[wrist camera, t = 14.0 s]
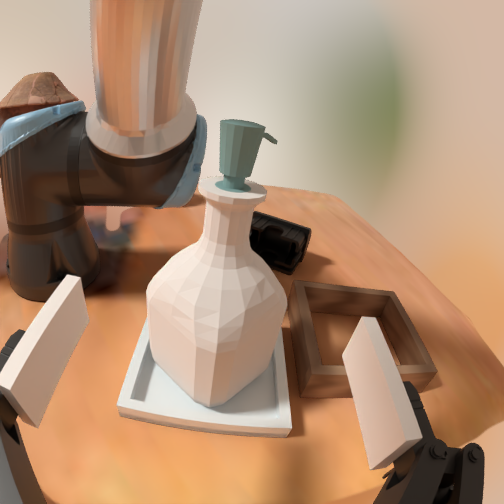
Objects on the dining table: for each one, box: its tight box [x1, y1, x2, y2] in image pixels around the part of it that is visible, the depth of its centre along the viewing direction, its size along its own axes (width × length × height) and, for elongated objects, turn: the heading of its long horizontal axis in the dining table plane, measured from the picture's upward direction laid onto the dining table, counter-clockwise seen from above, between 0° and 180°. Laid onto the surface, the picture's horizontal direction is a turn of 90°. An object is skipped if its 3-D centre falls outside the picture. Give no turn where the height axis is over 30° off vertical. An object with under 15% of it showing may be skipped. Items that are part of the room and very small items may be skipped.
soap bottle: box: [146, 119, 288, 407], centre depth 24 cm, size 10×10×23 cm
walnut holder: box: [287, 280, 438, 398], centre depth 34 cm, size 15×15×4 cm
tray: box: [117, 316, 292, 438], centre depth 29 cm, size 15×15×2 cm
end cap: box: [249, 211, 311, 275], centre depth 50 cm, size 10×7×7 cm
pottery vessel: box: [0, 72, 79, 178], centre depth 56 cm, size 26×26×30 cm
